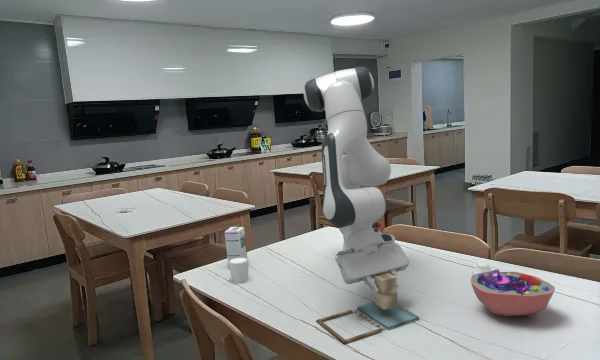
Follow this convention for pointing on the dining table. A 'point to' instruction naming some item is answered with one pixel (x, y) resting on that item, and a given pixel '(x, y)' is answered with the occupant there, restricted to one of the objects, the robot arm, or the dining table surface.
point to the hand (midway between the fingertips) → (387, 290)
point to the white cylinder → (238, 269)
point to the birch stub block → (386, 291)
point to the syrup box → (235, 243)
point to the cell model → (512, 292)
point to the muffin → (481, 268)
